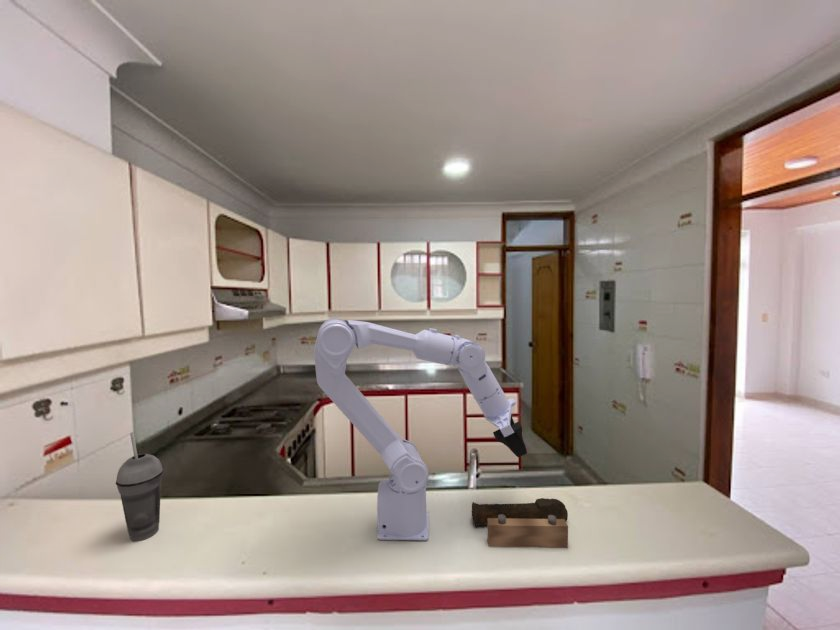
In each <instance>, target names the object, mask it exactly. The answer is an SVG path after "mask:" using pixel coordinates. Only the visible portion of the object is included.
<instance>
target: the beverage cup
mask: <svg viewBox="0 0 840 630" xmlns="http://www.w3.org/2000/svg"><path fill="white" fill-rule="evenodd" d="M129 435H130V441H131V447H132V451H133V456H131V457H129V458H128V459H126V461H124V463H122V464H121V466H120V467H119V468H118V472H117V475H116V481H115V485H116V487H117V490H118V493H119V495H120V500H121V503H122V504H121V505H122V509H123V514H124V515H123V516H124V519H125V525H126V530H127V532H128V537H129V540H130V541H131V542H141V541H145V540H147V539H150V538H152V537H153V536H154V535H156V534H157V533H158V532H159V530H160V527H159V526H160V519H161V518H160V517H161V514H160V513H161V487H162V482H163V473H164V468H163V465H162V462H161V461H160V459H159V458H157V457H156V456H155V455H153V454H149V453H140V454H139V453H138V450H137V445H136V438H135V433H134V432H130V434H129Z"/></svg>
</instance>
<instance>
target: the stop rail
mask: <svg viewBox="0 0 840 630" xmlns="http://www.w3.org/2000/svg"><path fill="white" fill-rule="evenodd" d="M486 526H487V527H486V529H487V530H486V532H487V533H486V534H487V536H486V537H487V543H488V547H494V548H495V547H500V548H501V547H505V548H506V547H508V548H509V547H510V548H557V549H558V548H560V549H562V548H566V549H567V548H569V545H568V544H569V525H568V524H567V522H566V521H565V520H564V519H556V517H555V516H554V515H549V516H548V519H515V518H506V516H505V515H503V514H499V515H498V518H487V524H486Z"/></svg>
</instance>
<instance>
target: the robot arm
mask: <svg viewBox="0 0 840 630" xmlns="http://www.w3.org/2000/svg"><path fill="white" fill-rule="evenodd" d="M372 344H373V345H378V346H384V347H389V348H395V349H396V348H397V349H400V350H406V351H411V352H412V353H413V354H414V356H415V358H416V359H418V360H422V361H425V362H426V361H427V362H430V363H431V362H432V363H435V364H440V365H445V366H451V365H453V366H455V367H457V370H458V371H459V373H460V376H461V377H462V379H463V381H464V383H465V385H466V386H467V389H469V391H470V393H471V395H472V396H473V398H474V400H475V402H476V403H477V406H479V409H480V410H481V412H482V413H483V417H484V419H485V420H486V421H487V422H489V423H490V424H492V425H493V426H495V427H496V428H497V429H496V430H495V431H493V432H492V434H493V437H494V439H495V440H496V441H497V442H499V443H501V444H503V445H504V446H506V447H507V448H508V449H509V450H510V451H511V452H512V453H513V454H514V455H515V456H516V458H521V457H523V456H525V455H527V454H528V451H527V447H526V443H525V441H524V438H523V426H522V424H521V421H520V420H519V421H517V422H515V421H514V418H513V416H512V412H513V411H512V410H513V407H514V406H516V405H517V401H516V399H515V398H514V397H511V398H509V399H508V398H507V396H506V394H505V392H504V390H503V389H502V387H501V385H500V383H499V382H498V380H497V378H496V377H495V375H494V373H493V371H492V369H491V367H490V366H489V365H488V364H487V362H486V352H485V349H484V347H481V345H480V344H478V343H477V342H475V341H473V340H469V339H466V338H463V337H461V336H460V335H459V334H453V335H449V334H445V333H441V332H440V333H439V332H438V329H436V328H431V327H429V329H423V330H420V331H419V332H417V333H415V334H414V333H411V332H407V331H403V330H399V329H395V328H391V327H388V326H383V325H380V324H377V323H373V322H369V321H362V320H361V321H360V320H354V319H346V320H344V319H342V318H339V317H337V318H336V317H335V318H329V319H326V320H325V321H324V322H323V323H322V324H321V325H320V327H319V329H318V332H317V336H316V340H315V344H314V348H313V357H314V366H315V374H316V375H315V376H316V383H317V385H318V387H319V388H320V389H321V390H322V392H324V393H325V394H326V396H327V397H328V398H329V399H330V401H332V402H333V404H334V405H335V406H336V407H337V409H339V411H340V412H341V413H342V414H343V415H344V416H345V417H346V418H347V420H349V422H351V424H352V425H353V426H354V427H355V428H356V429H357V430H358V432H360V434H361V435H362V436H363V437H364V439H366V441H367V442H368V443H369V444H370V445H371V446H372V447H373V449H374V450H375V451H376V452H377V453H378V454H379V456H380V457H381V459H382V461H383V462H384V463H385V465H386V467H387V468H388V470H389V471H390V472H391V474H390V476H389V478H388V479H387V480H382V481H379V483H378V488H377V499H376V500H377V501H376V506H377V508H376V511H377V517H376V518H377V536H376V537H377V540H381V541H382V540H385V541H386V540H388V541H390V540H391V541H393V540H394V541H427V540H429V525H430V524H429V519H430V518H429V517H430V516H429V515H430V512H428V511H427V482H428V480H429V476H430V475H429V469H428V467H427V464H425V462H424V461H423V459H422V458H421V457H422V456H420V453H419V451H418V448H417V446H416V445H415V444H414V443H413V442H412V441H409V440H407V439H404V438H403V437H402V436H401V434H399V433H398V432H396V431H395V430H394V429H393V428H392V427H391V425H390V424H389V423H388V422H387V421H386V420H385V418H384V417H383V416H382V415H381V414H380V412H378V410H377V409H376V408H375V407H374V406H373V404H372V403H371V402H370V401H369V400H368V399H367V398H366V397H365V395H364V394H363V393H362V392H361V391H360V389H358V387H357V386H356V385H355V383H353V382H352V380H351V379H350V378H349V376H347V375H346V369H347V363H348V362H347V361H348V358H349V357H350V355H351V353H352V352H353V349H354V347H355V346H356V349H357V350H358V351H359V350H361V349H364V348H366V347H368V346H370V345H372Z"/></svg>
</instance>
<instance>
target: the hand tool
mask: <svg viewBox="0 0 840 630" xmlns="http://www.w3.org/2000/svg"><path fill="white" fill-rule="evenodd" d="M568 512H569V511H568V509H567V508H566V505H565V504H564V502H562V501H561V500H559V499H558V498H557V499H556V498H543V497H542V498H537V499H535V502H527V503H526V502H524V503H480V504H479V503H476V502H474V501H473V502H471V518H472V523H473V525H474V527H477V526H478V525H480V526H482V527H484V526H485V525H487V518H498V515H499V514H503V515H505V516H506V518H515V519H548V516H549V515H554V516H555V517H556V519H564V520H565V522H566V521H568V517H569V516H568V515H569V513H568Z"/></svg>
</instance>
